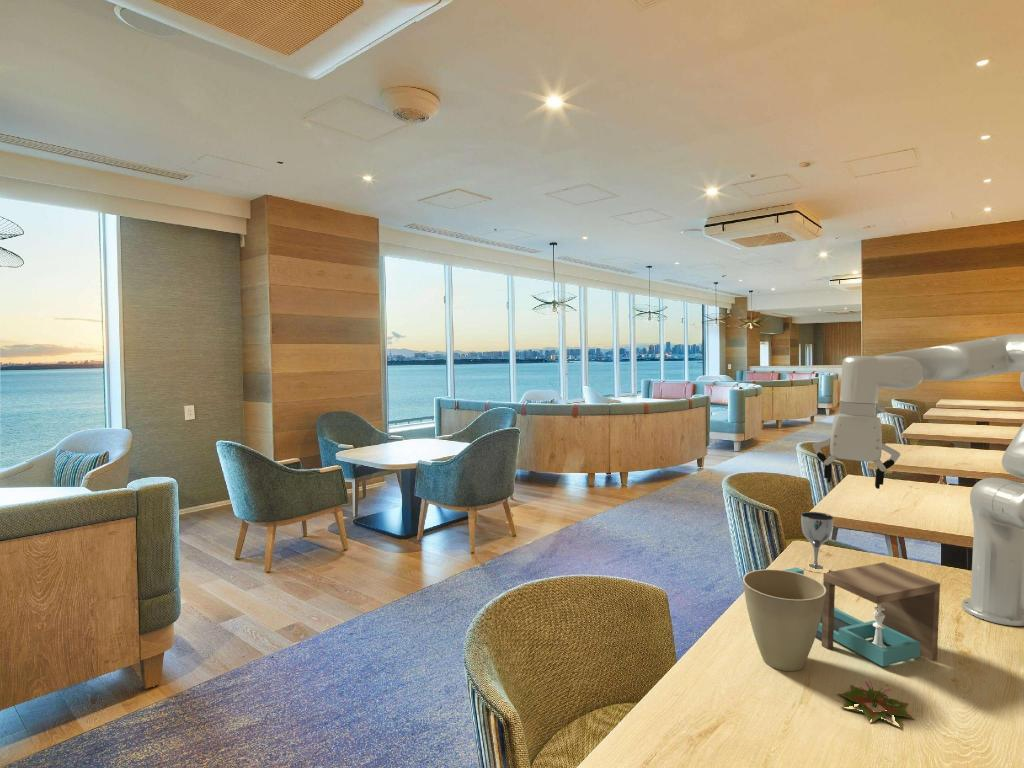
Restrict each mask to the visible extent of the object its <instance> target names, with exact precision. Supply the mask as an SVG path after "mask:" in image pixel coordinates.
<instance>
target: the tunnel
mask: <svg viewBox="0 0 1024 768" xmlns="http://www.w3.org/2000/svg"><path fill="white" fill-rule="evenodd" d="M822 584H823V585H824V586H825V588H826V596H825V601H824V606H823V611H822V616H821V620H820V623H822V633H821V632H819V631H817V634H816V637H815V639H817V640H819V641H820V642H821V646H822V647H823V648H825V649H827V650H828V649H833V648H834V641H835V640H834V639H833V634H834V630H835V631H837V632H839V628H842V627H846V626H851V625H850V624H848V623H846V622H844V621H842V620H840V619H838V618H836V617H834V608H835V597H836V596H835V595H836V587H838V588H841V589H843V590H845V591H846V592H849V593H852V594H853V595H856V596H859V597H860V598H863V599H864V600H867V601H869V602H872V603H874V604H876V607H878V604H880V605H881V607H882V608H885V610H884V611H883V610H881V613H883V614H884V615H885V618H884V620H883V622H882V624H883V625H885V626H887V627H889V628H891V629H893V630H895V631H897V632H899V633H902V634H904V635H906V636H908V637H910V638H912V639H914V640H916V641H918V642H920V656H921V657H924V658H926V659H927V660H929V661H935V660H938V648H939V646H938V641H939V622H940V597H941V594H940V593H941V583H940V582H938V581H935V580H933V579H929V578H927V577H924V576H923V575H922V576H921V575H919V574H916V573H913V572H911V571H908V570H905V569H902V568H899V567H897V566H895V565H892V564H890V563H887V562H879V563H873V564H867V565H861V566H856V567H851V568H845V569H839V570H838V569H837V570H834V571H830V572H827V573H823V582H822ZM876 612H878V610H876Z"/></svg>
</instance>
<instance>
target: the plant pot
mask: <svg viewBox="0 0 1024 768" xmlns="http://www.w3.org/2000/svg"><path fill="white" fill-rule="evenodd" d="M785 570H786V569H772V568H771V569H769V568H767V569H764V568H763V569H755V570H752V571H749V572H747V573H745V574H744V575H743V577H742V582H743V583H742V584H743V585H742V586H743V591H744V596H745V597H744V598H745V603H746V608H747V613H748V617H749V621H750V625H751V629H752V632H753V634H754V635H753V636H754V638H755V641H756V642H755V643H756V644H757V647H758V650H759V653H760V655H761V658H762V660H763V662H764V663H765V664H766V663H767V664H766V665H768V666H769V667H770V668H773V669H776V670H778V671H779V670H780V671H784V672H795V671H799V670H801V669H802V668H803V667H804V665H805V663H806V661H807V659H808V656H809V654H810V652H811V650H812V647H813V644H814V642H815V640H816V638H815V637H816V634H817V631H818V627H819V624H820V620H821V616H822V612H823V606H824V601H825V596H826V588H825V586H824V585H823V582H820V581H819V580H817V579H815V578H813V577H811V576H808V575H806V574H804V575H803V574H800V573H796V572H791V571H785Z"/></svg>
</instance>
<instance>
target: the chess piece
mask: <svg viewBox="0 0 1024 768" xmlns="http://www.w3.org/2000/svg"><path fill="white" fill-rule="evenodd" d="M873 608H874V612H873V613H872V614H873V617H874V621H876V623H873V626H874V627H876V631H875V637H873V638H874V639H873V641H872V643H873V644H875V645H877V646H879V647H881V648H885V647H887V646H886V645H885V644H884V641H883V640H882V629H884V628H885V626H884V625H883V624H882V622H883V620H884V618H885V615H884V614H883V613H881V610H883V611H884V610H885V608H882V607H881V605H880V604H878V607H877V606H874V607H873ZM877 610H878V612H877Z"/></svg>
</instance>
